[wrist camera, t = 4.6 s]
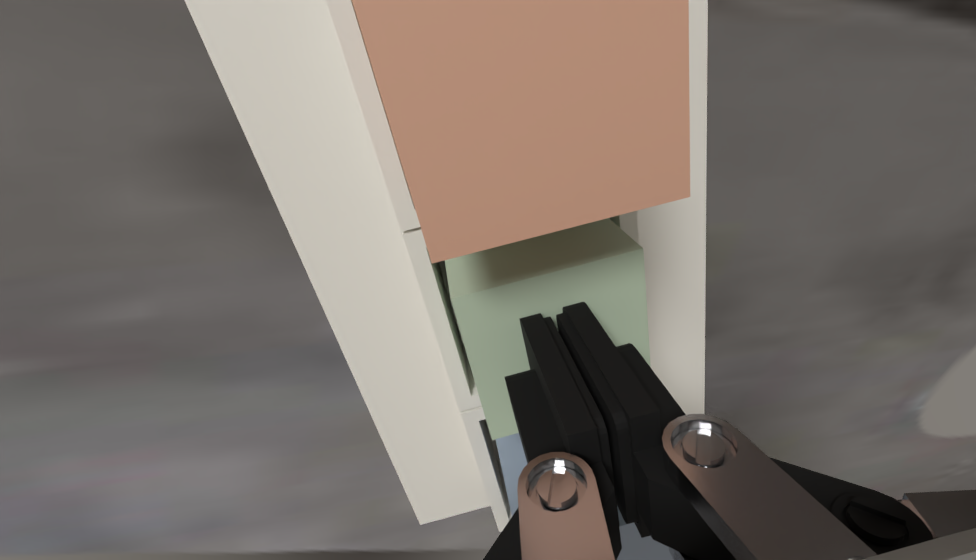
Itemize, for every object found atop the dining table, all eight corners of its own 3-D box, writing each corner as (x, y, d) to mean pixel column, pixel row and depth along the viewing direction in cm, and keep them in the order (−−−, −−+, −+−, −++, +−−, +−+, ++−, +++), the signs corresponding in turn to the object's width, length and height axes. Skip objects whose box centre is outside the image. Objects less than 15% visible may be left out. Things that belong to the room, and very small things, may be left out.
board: (687, -225, 12) (802, -338, 9) (693, 431, 23) (743, 500, 20) (153, -103, 12) (41, -168, 8) (420, 506, 23) (421, 590, 19)
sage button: (575, 189, 15) (643, 248, 11) (591, 307, 17) (652, 396, 13) (439, 224, 15) (450, 298, 11) (471, 339, 17) (492, 440, 13)
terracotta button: (569, -63, 10) (687, -146, 6) (591, 143, 12) (690, 197, 8) (367, -15, 10) (333, -62, 6) (424, 185, 12) (431, 263, 8)
